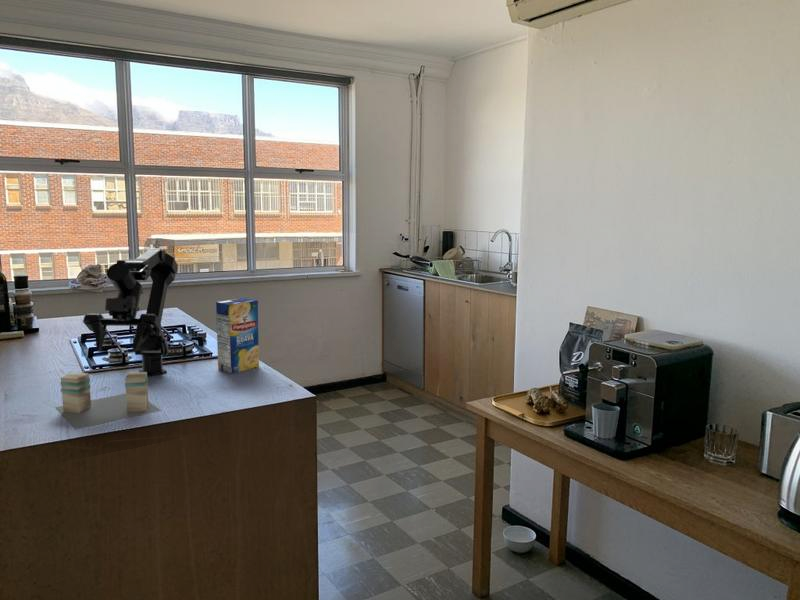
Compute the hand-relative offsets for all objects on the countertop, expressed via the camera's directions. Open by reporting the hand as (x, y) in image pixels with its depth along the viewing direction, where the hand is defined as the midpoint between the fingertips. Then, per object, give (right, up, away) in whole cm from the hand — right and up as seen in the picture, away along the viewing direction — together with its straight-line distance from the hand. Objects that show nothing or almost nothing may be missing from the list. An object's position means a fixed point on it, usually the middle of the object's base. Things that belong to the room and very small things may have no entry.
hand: (116, 351), depth 160 cm
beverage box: (+23, -9, +35) cm, 43 cm away
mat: (0, -15, -4) cm, 15 cm away
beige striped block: (-8, -15, -5) cm, 17 cm away
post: (+7, -15, -3) cm, 17 cm away
